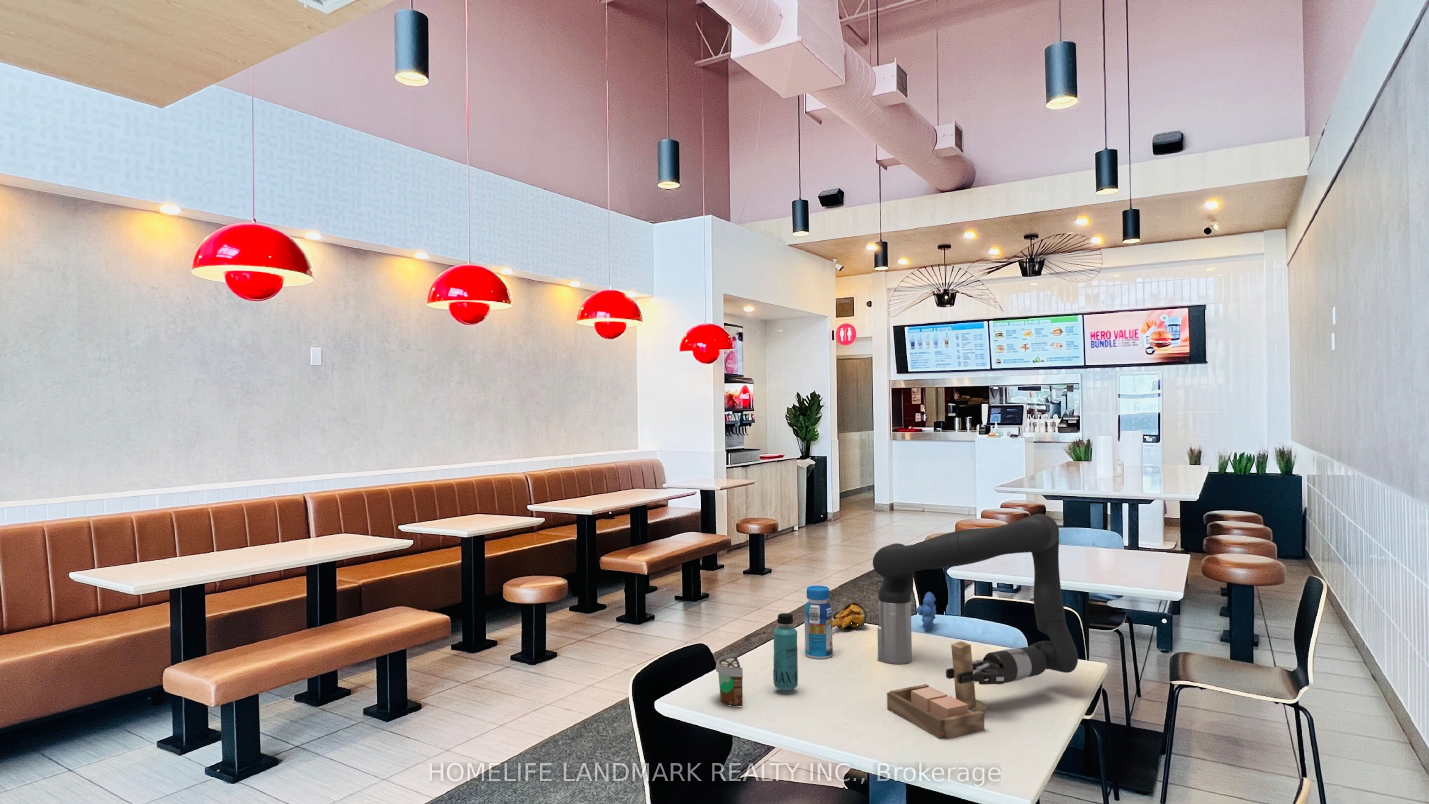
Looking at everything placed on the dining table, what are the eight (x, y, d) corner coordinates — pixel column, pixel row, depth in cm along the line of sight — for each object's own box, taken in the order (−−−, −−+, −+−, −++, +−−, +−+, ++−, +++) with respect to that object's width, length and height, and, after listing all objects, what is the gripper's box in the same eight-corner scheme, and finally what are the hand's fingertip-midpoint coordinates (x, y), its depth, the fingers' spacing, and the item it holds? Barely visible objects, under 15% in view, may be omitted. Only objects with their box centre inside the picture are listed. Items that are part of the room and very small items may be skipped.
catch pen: (926, 700, 199) (925, 684, 199) (984, 729, 180) (984, 712, 180) (885, 708, 194) (885, 691, 194) (941, 739, 175) (941, 721, 175)
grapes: (919, 623, 268) (918, 587, 268) (939, 625, 265) (939, 589, 266) (912, 632, 258) (912, 595, 258) (933, 634, 255) (933, 597, 255)
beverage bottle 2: (799, 653, 238) (798, 586, 238) (823, 649, 241) (822, 583, 242) (814, 661, 230) (813, 592, 230) (838, 656, 234) (837, 588, 234)
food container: (714, 692, 206) (713, 653, 206) (737, 691, 207) (737, 652, 207) (718, 710, 194) (717, 669, 194) (743, 709, 194) (742, 668, 194)
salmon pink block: (950, 717, 188) (950, 695, 188) (968, 726, 183) (967, 704, 183) (930, 721, 186) (929, 700, 186) (947, 731, 180) (947, 708, 180)
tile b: (931, 707, 194) (930, 686, 194) (947, 715, 189) (947, 694, 189) (911, 711, 192) (910, 690, 192) (927, 720, 186) (927, 698, 186)
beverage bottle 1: (768, 691, 206) (767, 614, 206) (784, 684, 211) (782, 609, 211) (788, 697, 202) (787, 618, 202) (803, 690, 206) (802, 613, 207)
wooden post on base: (958, 695, 199) (952, 632, 199) (1002, 716, 185) (996, 649, 185) (929, 705, 195) (923, 641, 195) (972, 727, 182) (966, 658, 181)
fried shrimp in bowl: (877, 613, 264) (853, 606, 251) (862, 642, 264) (836, 637, 251) (856, 598, 270) (831, 591, 257) (840, 627, 270) (815, 621, 257)
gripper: (1029, 690, 190) (973, 702, 182) (986, 672, 202) (933, 683, 195) (1029, 658, 190) (973, 669, 183) (986, 643, 203) (932, 652, 195)
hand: (952, 676), depth 189 cm, fingers closed on wooden post on base, 3 cm apart
